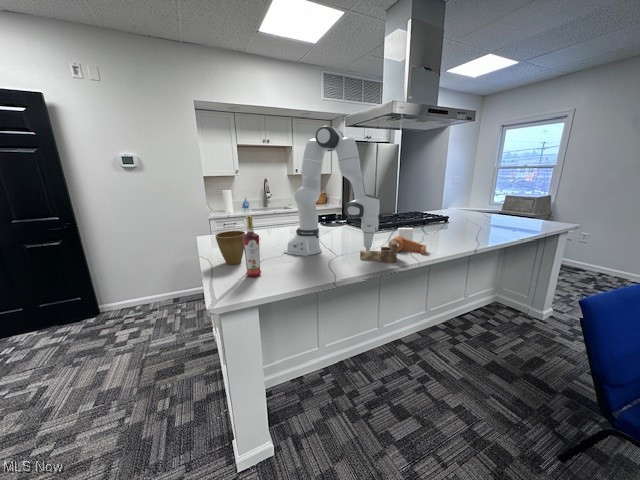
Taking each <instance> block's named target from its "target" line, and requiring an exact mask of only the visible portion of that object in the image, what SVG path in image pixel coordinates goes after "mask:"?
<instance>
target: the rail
mask: <svg viewBox="0 0 640 480" xmlns="http://www.w3.org/2000/svg"><path fill="white" fill-rule="evenodd" d="M359 259H360V260H367V261H368V260H369V261H370V260H373V261H381V250H370V252H369V254H366V249H365V250H363V249H362V250H360V251H359Z"/></svg>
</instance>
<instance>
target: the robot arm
mask: <svg viewBox="0 0 640 480" xmlns="http://www.w3.org/2000/svg"><path fill="white" fill-rule="evenodd" d="M333 151H335V153H336V155H337V162H338V169H339V172H340V174H341V175H342V176H343V177H344V178H345V179H347V180H348V181H349V182H350V184H351V185H352V186H351V187H352V191H353V194H354V195H353V196H354V200H351V201H349V202H347V203H346V205H345V206H344V214H345V215H346V216H347V217H348V218H349V219H361V227H360V228H361V231H362V233H363V247H364V248H365V251H366V254H369V252H370V251H371V250H370V249H371V247H372V245H373V240H374V236H375V234H376V232H377V231H378V230H379V214H380V199H379V197H378V196H376V195H374V194H366V190H365V185H364V184H365V183H364V179H363V176H362V175H363V174H362V171H361V170H362V169H361V161H360V155H359V153H360V152H359V150H358V146H357V142H356V140H355V139H354V138H353V137H349V136H348V137H344V134H343V132H342V131H341V130H339V129H338V128H336V127H334V126H330V125H323V126H320V127H319V128H318V129H317V131H316V132H315V138H311V139H308V140H307V142H306V144H305V148H304V151H303V156H302V165H301V171H300V172H301V186H300V187H299V188H298V189H297V190H296V191H295V193H294V201H295V202H296V208H297V211H298V220H299V222H298V223H299V227H298V228H297V229H296V230H295V233H296V234H295V235H294V236H293V237H292V238H290V239H289V240H288V243H287V246H286V247H284V249H283V253H284V254H289V255H294V256H295V255H296V256H305V257H307V256H311V255H317V254H319V253H321V252H322V248H321V244H320V227H319V213H318V210H317V205H316V204H317V202H318V201H319V199H320V196H321V184H322V183H321V176H322V170H323V165H324V164H323V163H324V158H325V153H326V152H333Z"/></svg>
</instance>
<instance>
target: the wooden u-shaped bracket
mask: <svg viewBox="0 0 640 480" xmlns="http://www.w3.org/2000/svg"><path fill="white" fill-rule="evenodd" d="M390 241H391V247H389V246H380V251H381V260H380V262H381V263H382V262H383V263H395V264H396V263H397V259H398V258H397V256H398V255H397V254H398V252H397V240H392V239H391V240H390Z"/></svg>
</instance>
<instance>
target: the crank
mask: <svg viewBox="0 0 640 480" xmlns="http://www.w3.org/2000/svg"><path fill="white" fill-rule="evenodd" d="M391 240H397V243H398V245H399V246H397V253H398V252H400V251H405V252H413V253H414V252H415V253H420V255H425V254H426V251H427V245H426V244H425V245H424V244H422V243H419V242H417V241H413V240H412V241H411V240H408V239H405V238H403V237H400V236H394V237H393V238H392V239H391ZM391 240H389V242H388V247H391Z"/></svg>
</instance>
